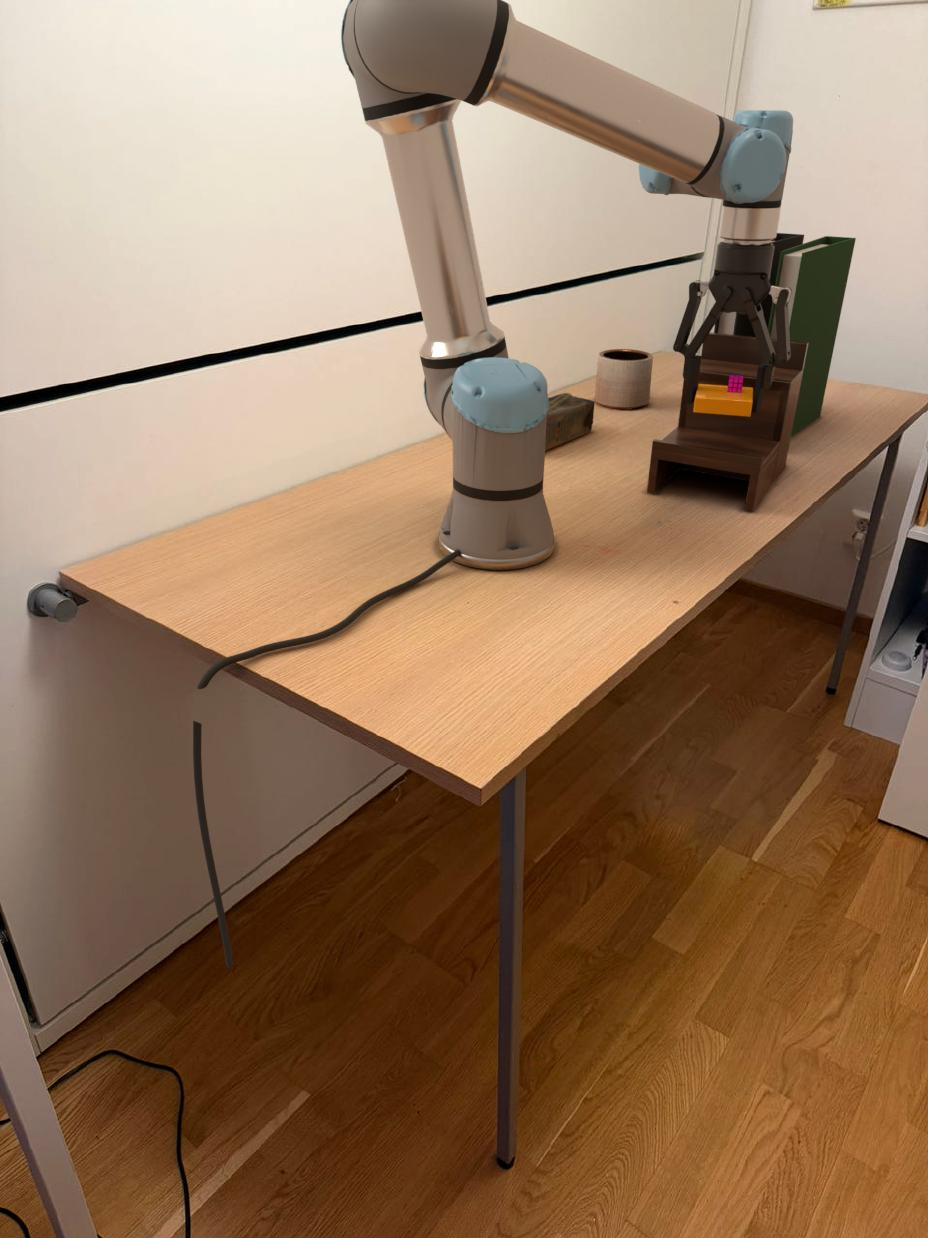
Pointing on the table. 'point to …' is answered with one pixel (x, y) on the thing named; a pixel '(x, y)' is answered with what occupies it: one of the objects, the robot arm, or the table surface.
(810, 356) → the books
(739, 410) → the orange slab
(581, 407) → the beverage carton
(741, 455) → the step shelf
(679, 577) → the table surface
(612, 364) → the planter
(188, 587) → the table surface
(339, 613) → the table surface
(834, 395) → the table surface
